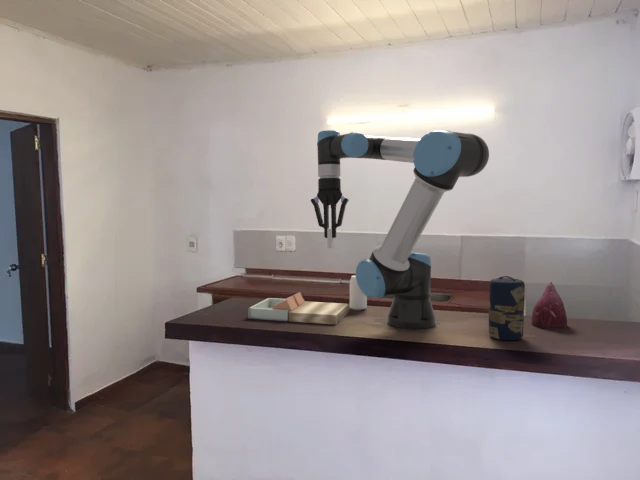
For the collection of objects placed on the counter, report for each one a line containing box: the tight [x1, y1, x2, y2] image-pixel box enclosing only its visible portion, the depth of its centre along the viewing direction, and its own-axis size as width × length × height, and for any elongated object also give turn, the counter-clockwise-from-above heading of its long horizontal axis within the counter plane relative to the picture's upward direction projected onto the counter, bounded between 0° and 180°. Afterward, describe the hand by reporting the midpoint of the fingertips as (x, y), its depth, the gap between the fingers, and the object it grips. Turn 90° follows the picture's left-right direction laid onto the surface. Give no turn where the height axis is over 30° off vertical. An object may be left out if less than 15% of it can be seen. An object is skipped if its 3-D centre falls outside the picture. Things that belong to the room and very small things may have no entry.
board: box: [288, 300, 350, 325], centre depth 177 cm, size 16×18×3 cm
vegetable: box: [530, 281, 568, 330], centre depth 165 cm, size 10×10×15 cm
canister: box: [488, 275, 526, 341], centre depth 149 cm, size 10×10×18 cm
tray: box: [247, 297, 290, 322], centre depth 181 cm, size 14×18×4 cm
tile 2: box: [283, 291, 306, 306], centre depth 183 cm, size 6×6×4 cm
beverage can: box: [349, 274, 368, 311], centre depth 188 cm, size 6×6×12 cm
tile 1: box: [272, 295, 298, 312], centre depth 175 cm, size 6×6×4 cm
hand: (330, 247), depth 176 cm, fingers closed
